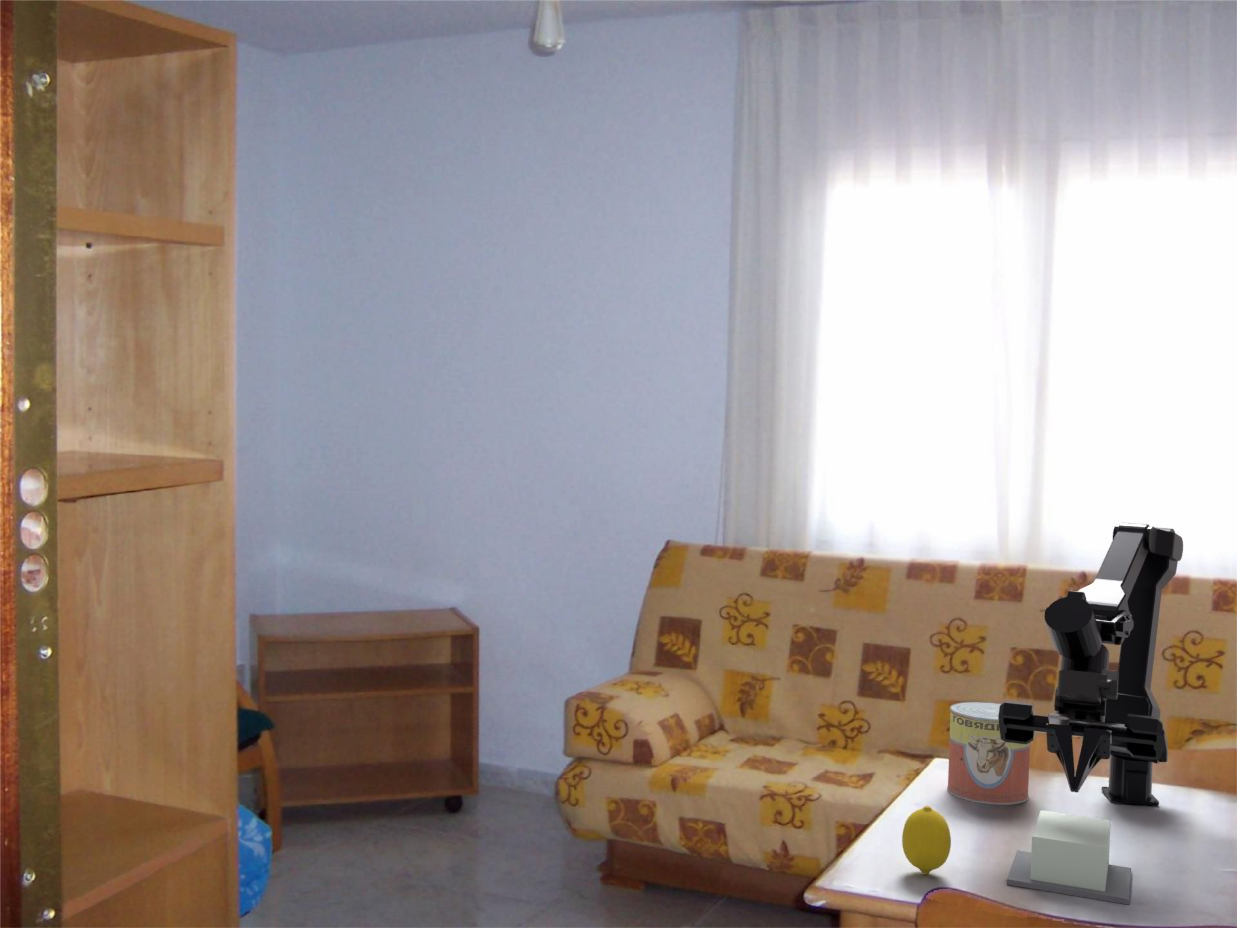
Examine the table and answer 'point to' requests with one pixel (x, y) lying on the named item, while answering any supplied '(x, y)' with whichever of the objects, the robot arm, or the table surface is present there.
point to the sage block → (1070, 850)
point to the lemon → (926, 839)
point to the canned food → (985, 757)
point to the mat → (1113, 892)
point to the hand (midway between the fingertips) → (1074, 790)
